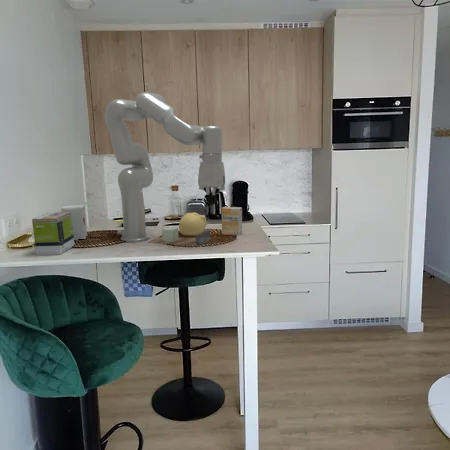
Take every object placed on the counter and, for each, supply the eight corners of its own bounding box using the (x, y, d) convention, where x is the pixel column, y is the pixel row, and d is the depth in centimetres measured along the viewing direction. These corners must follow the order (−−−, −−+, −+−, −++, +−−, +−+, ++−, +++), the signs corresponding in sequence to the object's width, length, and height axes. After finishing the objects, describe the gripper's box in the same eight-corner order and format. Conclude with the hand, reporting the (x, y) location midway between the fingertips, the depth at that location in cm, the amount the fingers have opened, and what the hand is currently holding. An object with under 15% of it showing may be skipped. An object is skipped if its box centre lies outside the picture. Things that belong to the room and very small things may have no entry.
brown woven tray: (146, 244, 178) (146, 233, 177) (160, 238, 189) (159, 227, 188) (199, 248, 170) (199, 235, 169) (211, 241, 181) (210, 229, 180)
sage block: (162, 241, 179) (161, 229, 178) (167, 238, 183) (167, 227, 182) (173, 241, 177) (172, 230, 176) (178, 239, 182) (177, 227, 181)
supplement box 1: (84, 240, 191) (81, 207, 188) (63, 241, 189) (60, 208, 186) (87, 236, 199) (85, 204, 197) (67, 237, 198) (64, 205, 195)
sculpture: (210, 234, 197) (209, 211, 195) (196, 239, 186) (195, 215, 184) (189, 232, 202) (188, 210, 200) (174, 237, 192) (173, 213, 190)
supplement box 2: (221, 236, 190) (220, 207, 188) (225, 234, 195) (224, 206, 192) (239, 237, 187) (238, 208, 185) (242, 235, 192) (242, 206, 189)
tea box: (52, 246, 180) (48, 211, 177) (75, 246, 180) (72, 211, 177) (35, 255, 165) (31, 218, 163) (60, 255, 165) (57, 217, 162)
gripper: (190, 158, 166) (190, 204, 170) (226, 159, 161) (226, 207, 165) (198, 157, 173) (198, 202, 177) (233, 158, 168) (232, 204, 172)
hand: (211, 204), depth 171 cm, fingers closed
